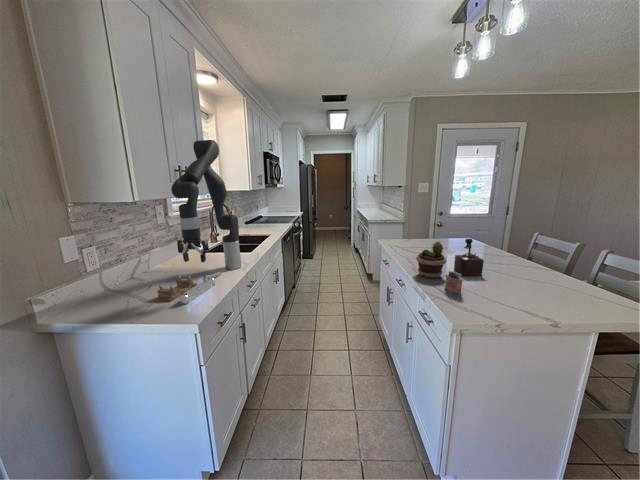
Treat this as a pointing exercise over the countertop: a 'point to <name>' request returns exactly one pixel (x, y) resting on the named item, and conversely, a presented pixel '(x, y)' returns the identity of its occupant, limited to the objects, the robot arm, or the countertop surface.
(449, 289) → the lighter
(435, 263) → the flowerpot
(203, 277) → the caliper
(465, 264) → the brown box with post
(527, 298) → the countertop surface
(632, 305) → the countertop surface
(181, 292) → the tool rest
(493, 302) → the countertop surface
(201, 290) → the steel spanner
